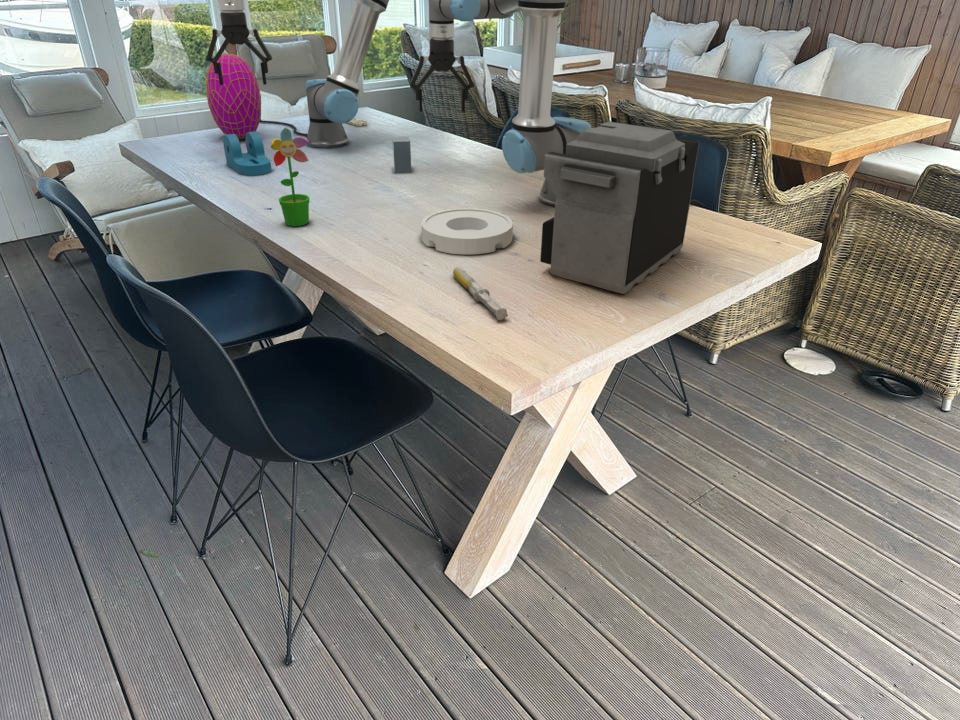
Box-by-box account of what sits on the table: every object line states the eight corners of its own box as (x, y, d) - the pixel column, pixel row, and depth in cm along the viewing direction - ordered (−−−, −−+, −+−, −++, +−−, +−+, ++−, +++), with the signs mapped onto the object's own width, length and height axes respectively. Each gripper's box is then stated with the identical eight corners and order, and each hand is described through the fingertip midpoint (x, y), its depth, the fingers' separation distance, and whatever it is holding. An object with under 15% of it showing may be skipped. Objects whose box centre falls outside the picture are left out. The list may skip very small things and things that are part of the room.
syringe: (449, 274, 155) (449, 263, 153) (465, 272, 156) (464, 260, 154) (490, 323, 135) (491, 310, 133) (508, 319, 136) (508, 307, 134)
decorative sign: (319, 115, 301) (339, 112, 307) (320, 117, 301) (339, 114, 307) (352, 125, 284) (372, 122, 290) (352, 127, 284) (372, 124, 290)
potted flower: (284, 229, 179) (270, 130, 166) (277, 220, 185) (263, 124, 172) (319, 224, 183) (308, 127, 170) (311, 215, 188) (300, 121, 176)
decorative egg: (252, 130, 278) (239, 49, 262) (275, 139, 265) (264, 54, 250) (206, 137, 266) (190, 53, 251) (228, 146, 254) (213, 59, 239)
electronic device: (606, 230, 180) (619, 111, 165) (687, 249, 169) (709, 123, 154) (532, 275, 155) (539, 139, 140) (621, 301, 144) (640, 156, 128)
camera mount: (227, 164, 233) (221, 132, 227) (257, 160, 238) (252, 129, 233) (244, 176, 220) (239, 143, 215) (276, 172, 225) (271, 139, 220)
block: (393, 168, 232) (392, 137, 227) (410, 167, 233) (408, 136, 228) (394, 173, 226) (393, 141, 221) (411, 172, 227) (410, 141, 222)
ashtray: (426, 221, 185) (425, 207, 183) (512, 223, 185) (512, 208, 183) (416, 253, 165) (416, 237, 163) (512, 255, 165) (513, 239, 163)
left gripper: (187, 12, 209) (201, 86, 219) (272, 12, 212) (281, 85, 223) (192, 10, 215) (205, 82, 226) (274, 10, 218) (283, 81, 229)
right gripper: (401, 39, 205) (403, 113, 216) (483, 40, 208) (481, 113, 219) (400, 36, 212) (402, 108, 223) (480, 37, 214) (479, 108, 226)
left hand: (243, 84), depth 224 cm, fingers open, 13 cm apart
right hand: (442, 110), depth 221 cm, fingers open, 13 cm apart
